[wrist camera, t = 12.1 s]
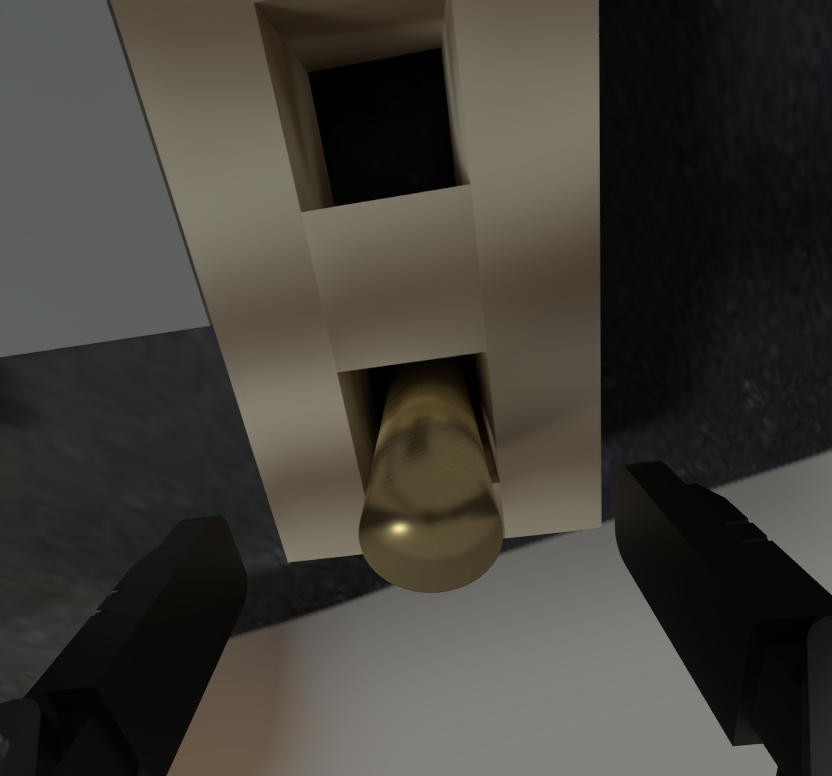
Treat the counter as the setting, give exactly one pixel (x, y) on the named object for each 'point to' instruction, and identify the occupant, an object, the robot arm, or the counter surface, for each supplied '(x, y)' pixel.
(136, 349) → the counter surface
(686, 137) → the counter surface
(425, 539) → the peg
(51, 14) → the mat
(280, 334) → the hole block
